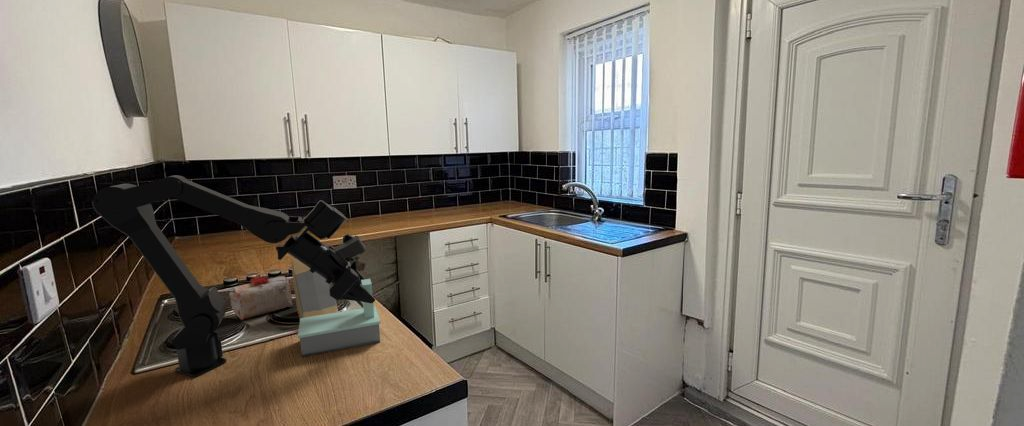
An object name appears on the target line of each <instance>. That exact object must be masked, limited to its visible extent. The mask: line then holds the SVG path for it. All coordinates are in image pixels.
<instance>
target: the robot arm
mask: <svg viewBox="0 0 1024 426" xmlns="http://www.w3.org/2000/svg"><path fill="white" fill-rule="evenodd" d="M167 199H173V200H177V201H179V202H182V203H185V204H188V205H190V206H193V207H195V208H198V209H199V210H202V211H205V212H208V213H211V214H213V215H216V216H218V217H221V218H223V219H225V220H228V221H230V222H232V223H233V222H234V223H236V224H238V225H240V226H241V227H243V228H244V229H245V230H246V231H248V232H249V233H250V234H252V235H253V236H255V237H257V238H258V239H260V240H262V241H264V242H265V243H268V244H277V243H278V244H277V245H276V246H275V250H276V253H277V259H278V261H279V260H282V259H284V257H285V256H286V255H287V254H288V255H290V256H291V257H293V258H296V259H297V260H299V261H300V262H302V263H303V264H305V265H306V266H307V267H309V271H311V272H312V273H314V272H316V273H318V274H319V275H321V276H322V277H324V278H325V282H327V283H328V284H329V290H330V296H331V297H333V298H334V299H335V300H336V302H337V301H339V300H340V301H344V300H345V301H351V302H353V301H354V302H361V303H363V302H366V303H373V304H374V303H375V301H376V298H375V297H374V296H372V295H371V294H370V293H369V292H368V291H367V290H366V289H365V288H364V287H363V286H362V285H361V280H365V279H366V278H365V277H364V276H363V275H362V274H361V272H360V271H359V270H358V269H357V262H356V259H355V257H357V256H358V255H362V254H364V253H365V252H366V251H367V248H366V246H365V243H363V242H362V241H363V240H361V238H360V236H359V235H354V236H353V235H352V234H350V233H347V234H345V235H343V236H342V243H339V245H338V246H336V247H334V246H333V245H330V244H327V245H326V244H325V243H323V242H322V241H320V240H325V239H330V238H332V237H333V235H334V234H335V233H336V232H337V231H338V230H339V229H340V227H342V226H343V224H344V223H345V222H346V221H347V220H348V217H346V216H345V215H344V214H343V213H342V212H341V211H340V210H338V209H337V208H336V207H334V206H331V205H330V204H328V203H327V202H325V201H324V200H322V199H320V200H319V201H318V202H317V203H316V204H315V206H314V207H313V209H312V210H311V211H310V212H309V213H308V214H307V215H306V216H293V215H291V216H290V215H288V214H286V212H282V211H278V210H276V209H275V210H274V209H270V208H268V207H267V208H266V207H261V206H256V205H250V204H247V203H244V202H242V201H239V200H238V199H235V198H233V197H230V196H227V195H225V194H222V193H220V192H218V191H216V190H213V189H210V188H208V187H205V186H203V185H201V184H198V183H196V182H193V181H191V180H189V179H187V177H185V176H183V175H176V174H175V175H170V176H166V177H163V178H162V179H159V180H155V181H152V182H148V183H143V184H141V185H136V184H132V183H121V184H116V185H111V186H108V187H103V188H101V189H99V190H98V191H97V192H96V193H95V194H94V196H93V198H92V201H91V204H92V207H93V209H94V211H95V212H96V213H97V214H98V215H99V216H100V217H101V218H102V219H103V220H104V221H106V222H107V223H108V225H110V226H111V227H113V228H114V229H116V230H118V231H119V232H121V233H122V234H124V235H125V236H127V237H128V238H129V239H130V240H131V242H132V243H133V244H134V247H136V248H137V250H138V251H139V252H140V254H141V255H142V257H143V258H144V259H145V260H146V261H147V263H148V265H149V266H150V268H151V269H152V270H153V271H154V273H155V274H156V275H157V276H158V278H159V279H160V280H161V282H162V283H163V284H164V286H165V287H166V289H167V290H168V291H169V293H170V294H171V295H172V297H173V298H174V300H175V304H176V310H177V313H178V317H179V319H180V322H181V324H182V325H183V326H181V328H180V329H179V330H178V332H177V333H176V334H175V335H174V336H173V338H172V340H171V343H172V346H173V347H174V348H175V349H176V356H177V359H178V360H177V361H178V367H175V368H174V372H175V373H180V374H184V375H186V376H188V377H193V378H195V377H199V376H201V375H203V374H204V373H207V372H208V371H211V370H213V369H215V368H217V367H218V366H220V365H223V364H225V363H227V358H225V357H223V356H224V354H223V347H222V340H221V339H222V338H220V337H219V334H218V332H215V331H216V330H217V329H218V328H219V325H220V324H221V322H222V321H223V319H224V317H225V314H226V311H227V307H226V302H227V300H226V299H224V298H223V296H221V295H220V291H219V290H218V288H217V287H216V286H212V287H211V288H209V289H208V288H206V287H205V286H203V285H201V284H200V283H199V282H198V280H197V279H196V278H195V276H194V275H193V273H192V272H191V271H190V269H189V267H188V266H187V265H186V263H185V262H184V261H183V259H182V258H181V257H180V255H179V254H178V252H177V251H176V249H175V248H174V247H173V246H172V244H171V243H170V241H169V239H167V236H165V234H164V232H163V231H162V230H161V228H160V227H159V226H158V224H157V221H156V218H155V211H154V208H153V205H152V204H153V203H157V202H160V201H164V200H167ZM296 234H297V235H296ZM289 236H290V237H289ZM288 237H289V238H288ZM287 238H288V239H287ZM286 239H287V240H286ZM284 240H286V241H285V242H284V243H283V244H279V243H281V242H283V241H284Z"/></svg>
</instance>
